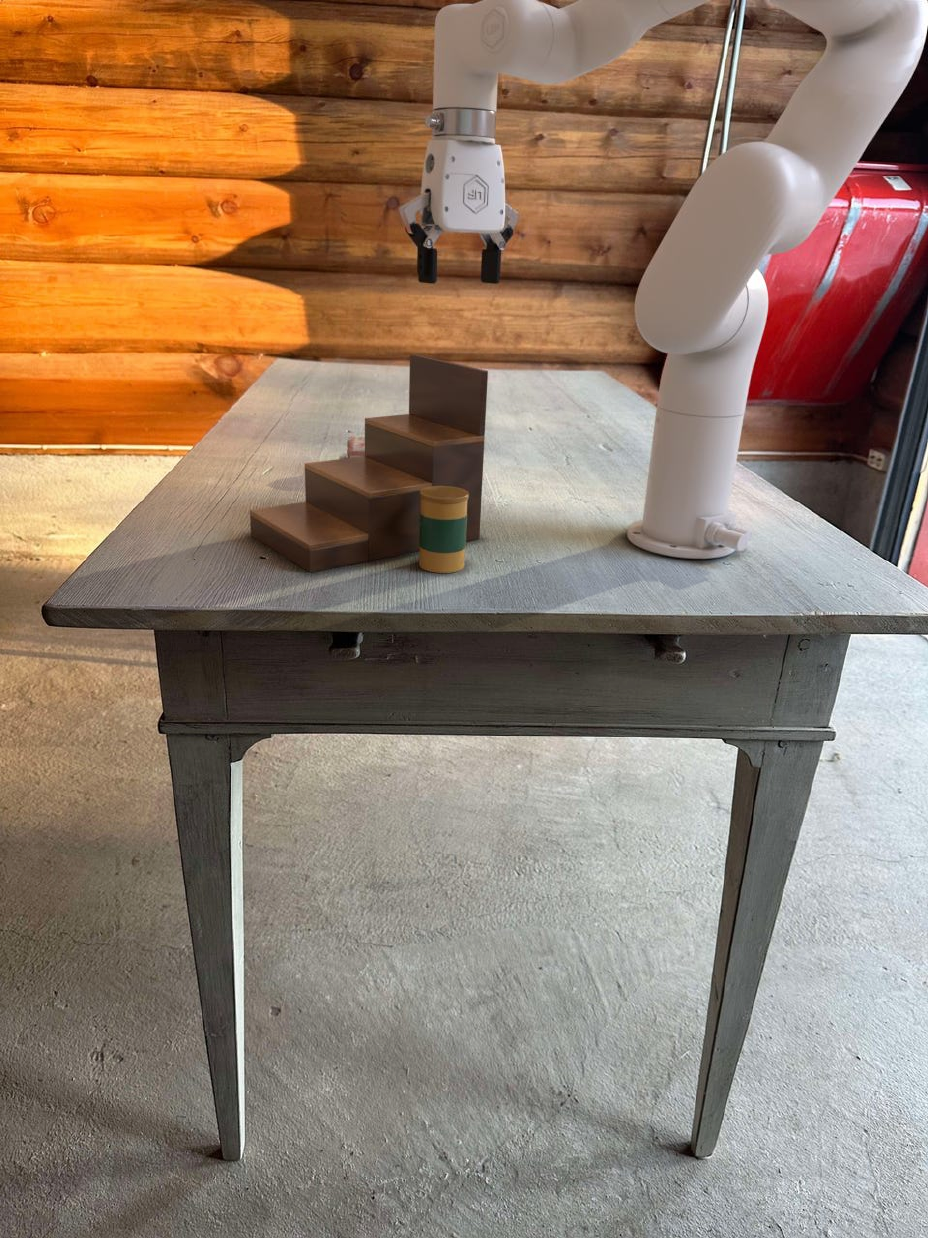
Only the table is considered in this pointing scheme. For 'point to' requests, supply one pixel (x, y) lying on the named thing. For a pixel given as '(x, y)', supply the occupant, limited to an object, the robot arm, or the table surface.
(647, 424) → the table surface
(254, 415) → the table surface
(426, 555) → the tin
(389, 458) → the step shelf
